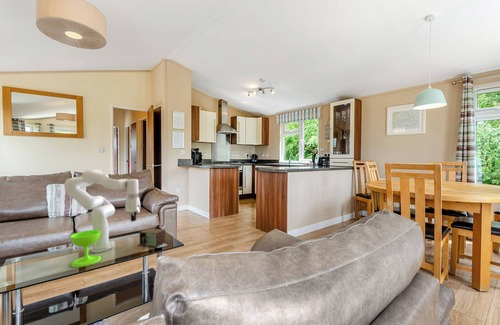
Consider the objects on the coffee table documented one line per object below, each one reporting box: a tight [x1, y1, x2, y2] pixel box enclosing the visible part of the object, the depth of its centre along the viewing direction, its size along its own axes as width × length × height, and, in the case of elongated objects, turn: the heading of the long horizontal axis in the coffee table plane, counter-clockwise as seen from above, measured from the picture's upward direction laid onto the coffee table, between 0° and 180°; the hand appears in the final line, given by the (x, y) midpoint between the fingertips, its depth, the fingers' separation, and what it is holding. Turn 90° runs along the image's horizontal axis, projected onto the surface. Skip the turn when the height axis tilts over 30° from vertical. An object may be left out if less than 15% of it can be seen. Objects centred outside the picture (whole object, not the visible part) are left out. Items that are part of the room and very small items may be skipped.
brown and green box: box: [137, 227, 166, 249], centre depth 175 cm, size 16×12×10 cm
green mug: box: [142, 233, 156, 247], centre depth 167 cm, size 8×6×9 cm
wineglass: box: [69, 229, 102, 268], centre depth 146 cm, size 16×16×18 cm
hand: (133, 220), depth 165 cm, fingers closed
